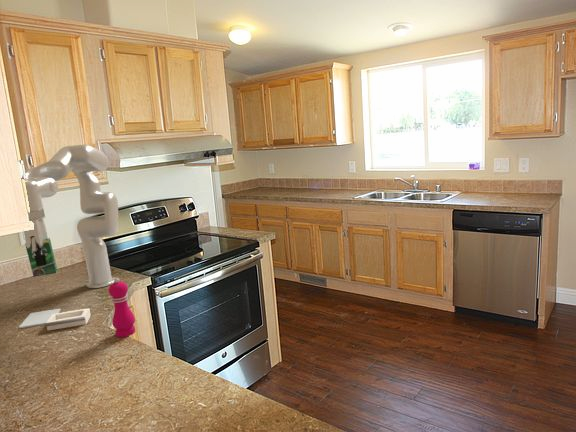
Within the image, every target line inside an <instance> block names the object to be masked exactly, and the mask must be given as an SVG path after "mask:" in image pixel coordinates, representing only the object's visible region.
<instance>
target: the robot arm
mask: <svg viewBox="0 0 576 432" xmlns="http://www.w3.org/2000/svg"><path fill="white" fill-rule="evenodd" d="M109 165H110V163H109V158H108V157H107V155H106V154H105V153H104V152H103V151H101V150H99V149H97V148H96V147H94V146H91V145H90V144H89V145H88V144H76V145H75V144H74V145H67V146H63V147H61V148H60V149H59V150H58V151H57V152H56V153H55V154H54V155H53V156H52V157H51V158H50V159H49V160H48V161H46V162H44V163H41V164H39V165H37V166H35V167H33V168H31V169H29V170H27V171H26V172H24V173H25V175H26V179H25V183H26V189H27V195H28V201H29V207H30V213H29V220H30V221H32V222H33V223H34V230H29V231H24V230H23V234H24V235H23V236H24V239H25V241H24V242H25V243H26V245H25V247H26V246H27V248H28V249H30V248H31V246H32V251H33V252H34V256H35V260H36V265H37V266H42V265H46V264H47V263H46V258H45V254H43V249H42V246H43V245H44V240H45V239H47V238H49V237H48V232H47V228H46V225H45V221H44V219H45V218H46V215H45V211H44V206H43V202H42V200H43V198H44V199H45V198H51V197H54V196H55V195H56V194H57V192H58V191H59V185H58V181H59V180H62V179H64V178H66V177H67V176H68V175H69V174H70V173H73V174H74V176H75V177H76V179H77V181H78V183H79V202H80V203H79V204H80V210H81V212H82V213H83V214H86V215H96V214H99V215H100V214H104V215H103V216H87V217H84V218H81V219H80V220H79V221H78V222H77V224H76V230H77V232H78V236H79V238H80V242H81V244H82V249H83V253H84V254H83V255H84V260H85V264H86V270H87V274H88V275H87V276H88V280H89V281H88V282H87V283H86V288H88V289H99V288H104V287H108V286H110V285H111V284H113V283H115V282H114V279H115V278H116V277H114V276H112V272H111V265H110V260H109V255H108V248H107V245H106V243H105V241H104V240H103V239H102V238H111V237H114V236H116V235H117V234H118V232H119V225H120V223H119V204H118V203H119V201H118V199H117V196H116V195H115V194H114V193H113V192H110V191H102V192H101V181H100V180H99V179H98V178H97V176H96V175H95V174H94V173H99V172H100V173H101V172H104V171H106V170H107V169H108V168H109ZM31 243H32V245H31ZM37 245H39V246H38V247H37ZM38 248H40V250H39V249H38Z"/></svg>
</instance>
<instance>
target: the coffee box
mask: <svg viewBox="0 0 576 432" xmlns="http://www.w3.org/2000/svg"><path fill="white" fill-rule="evenodd" d="M24 245H25V248H26V249H25V250H26V252H27V257H28V261H29V265H30V269H31V273H32V277H33V278H35V277H41V276H47V275H53V274H57V273H58V267H57V262H56V258H55V255H54V251H53V246H52V242H51V239H50V237H48V238H47V239H45V240H44V245H43V246H42V249H43V254H45V258H46V263H47V264H46V265H42V266H37V265H36V260H35V256H34V252H33V251H32V246H31V248H30V249H28V248H27V246H26V242H25V243H24ZM31 245H32V243H31ZM38 246H39V245H37V247H38ZM38 249H39V250H40V248H38Z"/></svg>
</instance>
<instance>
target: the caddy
mask: <svg viewBox="0 0 576 432" xmlns="http://www.w3.org/2000/svg"><path fill="white" fill-rule="evenodd" d="M90 310H91V309H90V308H81V309H75V310H74V309H73V310H69V311H63V312H59V313H56V314H52V315H51V317H50V318H49V320H48V321H47V322H46V324H44V325H45V327H46V329H47V331H48V332H49V331H53V330H54V331H55V330H59V329H60V330H61V329H64V328H71V327H77V326H83V325H87V323H88V321H89V320H90V317H91V316H92V315H91V311H90Z"/></svg>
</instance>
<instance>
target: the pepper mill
mask: <svg viewBox="0 0 576 432" xmlns="http://www.w3.org/2000/svg"><path fill="white" fill-rule="evenodd" d="M128 291H129V287H128V285H127V283H125V282H124V281H120V278H118V277H115V279H114V283H113V284H111V285H109V287H108V293H109V295H110V296H111V302H112V303H113V304H114V312H113V317H112V327H113V328H115V336H117V338H126V337H130V336H132V335H134V333H136V326H135V325H134V324H135V323H136V317H135V315H134V313H133V312H132V310H131V309H130V306H129V305H128V299H129V297H128Z"/></svg>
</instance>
